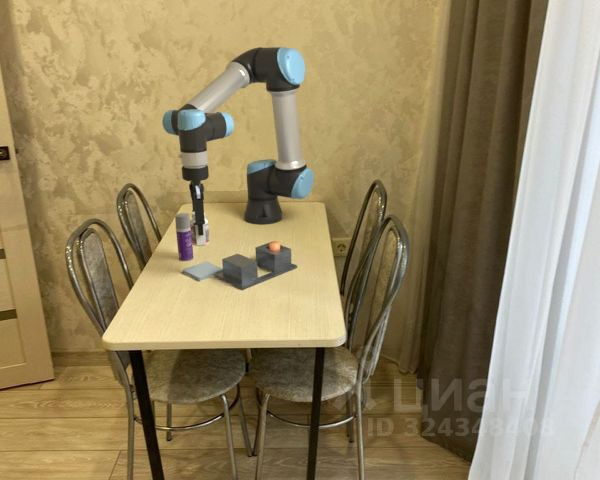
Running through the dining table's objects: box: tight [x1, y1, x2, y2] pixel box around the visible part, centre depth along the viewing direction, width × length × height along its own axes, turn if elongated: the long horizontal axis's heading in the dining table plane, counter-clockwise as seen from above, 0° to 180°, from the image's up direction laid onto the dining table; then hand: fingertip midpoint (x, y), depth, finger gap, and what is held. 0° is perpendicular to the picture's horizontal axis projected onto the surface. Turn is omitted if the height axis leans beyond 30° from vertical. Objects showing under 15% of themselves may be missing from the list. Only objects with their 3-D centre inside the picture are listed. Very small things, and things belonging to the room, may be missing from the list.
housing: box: [214, 242, 298, 291], centre depth 166 cm, size 22×13×6 cm, turn 135°
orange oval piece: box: [268, 240, 281, 251], centre depth 171 cm, size 3×3×5 cm
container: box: [174, 212, 194, 262], centre depth 175 cm, size 5×5×15 cm
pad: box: [182, 260, 223, 282], centre depth 168 cm, size 9×9×1 cm
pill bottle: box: [190, 211, 210, 247], centre depth 163 cm, size 5×5×10 cm
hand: (200, 241), depth 164 cm, fingers closed on pill bottle, 5 cm apart
